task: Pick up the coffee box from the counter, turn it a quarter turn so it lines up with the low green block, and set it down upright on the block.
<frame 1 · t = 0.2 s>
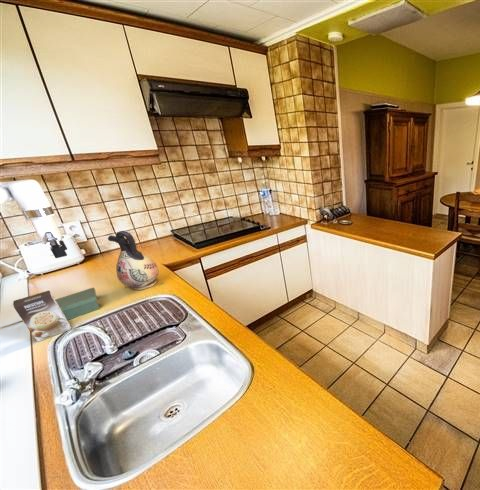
hand: (61, 253, 107), 26 cm above the worktop, tool pointing down, fingers open, 9 cm apart
coffee box: (54, 332, 103), on the worktop
green block: (75, 311, 115), on the worktop
ceramic jug: (145, 286, 133), on the worktop
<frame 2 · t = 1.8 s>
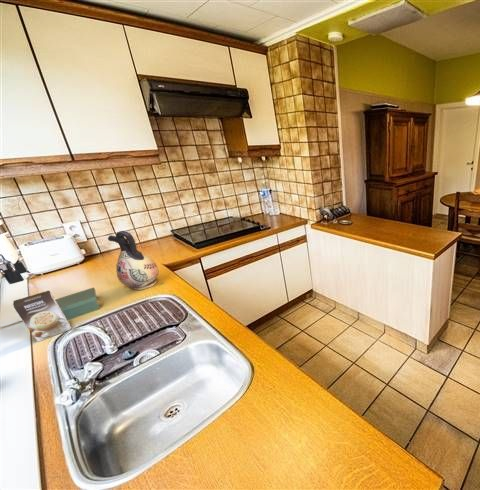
hand: (19, 277, 93), 25 cm above the worktop, tool pointing down, fingers open, 9 cm apart
nothing on the worktop moved.
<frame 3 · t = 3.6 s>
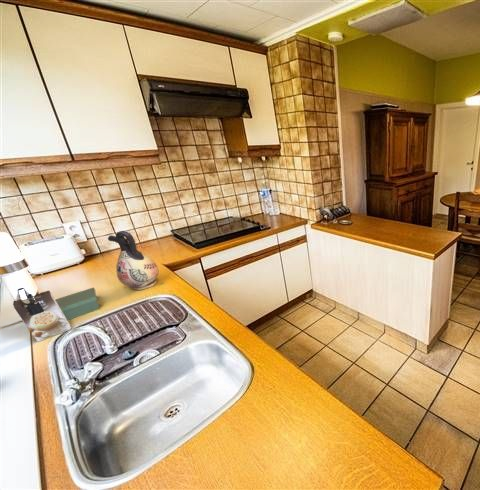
hand: (38, 309, 99), 11 cm above the worktop, tool pointing down, fingers closed on coffee box, 6 cm apart
coffee box: (54, 332, 103), on the worktop, touching gripper
everything else where it was.
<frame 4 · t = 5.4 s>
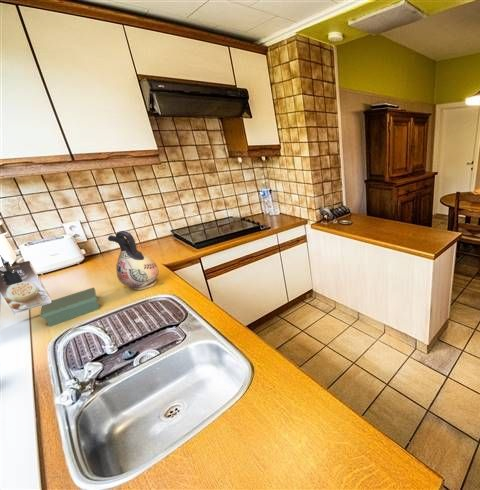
hand: (16, 279, 93), 24 cm above the worktop, tool pointing down, fingers closed on coffee box, 6 cm apart
coffee box: (33, 306, 98), point 13 cm above the worktop, touching gripper
everything else where it was.
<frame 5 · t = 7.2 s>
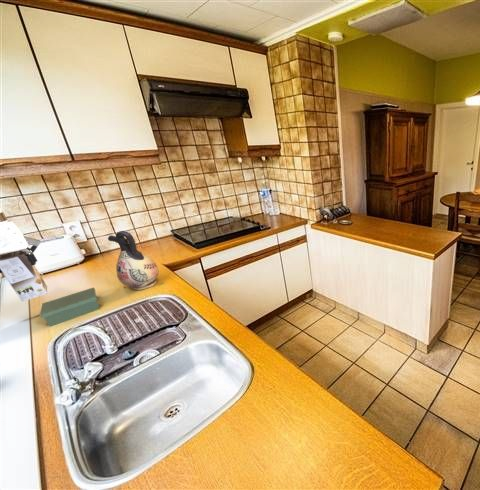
hand: (18, 267, 94), 27 cm above the worktop, tool pointing down, fingers closed on coffee box, 6 cm apart
coffee box: (35, 294, 99), point 16 cm above the worktop, touching gripper
everything else where it was.
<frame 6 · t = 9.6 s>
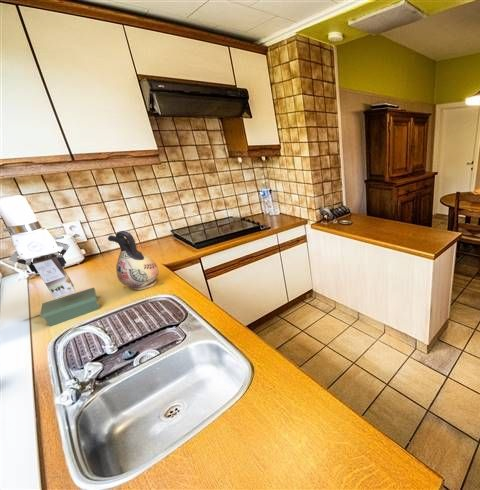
hand: (50, 268, 108), 21 cm above the worktop, tool pointing down, fingers closed on coffee box, 6 cm apart
coffee box: (64, 292, 112), point 10 cm above the worktop, touching gripper
everything else where it was.
when the fingers open (17 cm above the worktop, at t = 11.1 s): coffee box stays where it is, resting on green block.
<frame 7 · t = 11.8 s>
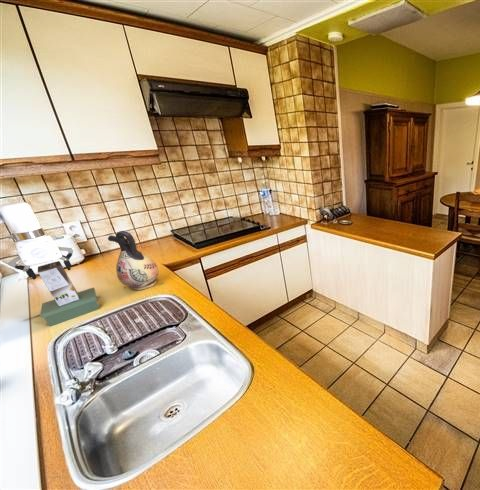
hand: (52, 273, 108), 19 cm above the worktop, tool pointing down, fingers open, 9 cm apart
coffee box: (68, 299, 114), point 6 cm above the worktop, touching green block
everything else where it was.
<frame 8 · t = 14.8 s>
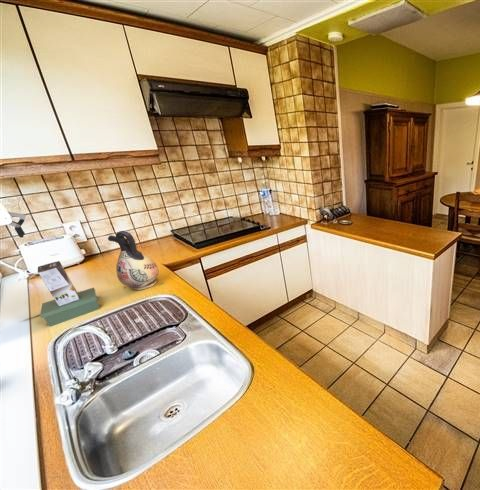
hand: (2, 240, 102), 34 cm above the worktop, tool pointing down, fingers open, 9 cm apart
nothing on the worktop moved.
at the end: coffee box inside the target area (0.5 cm from its centre), point 5.8 cm above the worktop; coffee box tilted 0°; the gripper is holding nothing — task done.
